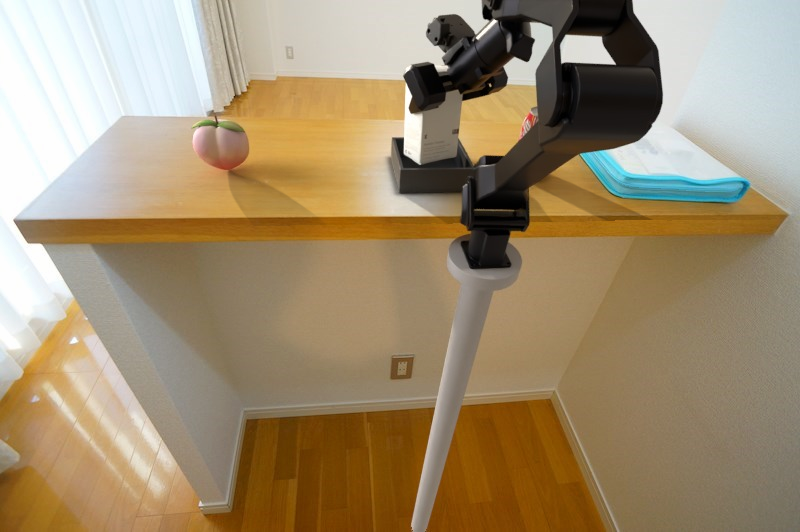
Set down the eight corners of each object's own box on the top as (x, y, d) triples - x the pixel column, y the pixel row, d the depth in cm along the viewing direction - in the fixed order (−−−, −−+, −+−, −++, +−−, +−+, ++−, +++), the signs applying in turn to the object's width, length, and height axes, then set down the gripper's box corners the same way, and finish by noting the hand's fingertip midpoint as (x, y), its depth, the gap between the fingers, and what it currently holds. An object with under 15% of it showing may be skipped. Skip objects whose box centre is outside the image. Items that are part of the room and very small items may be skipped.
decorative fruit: (259, 159, 79) (249, 106, 73) (250, 180, 73) (239, 125, 67) (208, 158, 79) (194, 105, 72) (195, 179, 72) (178, 123, 66)
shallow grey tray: (471, 191, 74) (475, 168, 71) (399, 193, 73) (400, 169, 70) (455, 158, 84) (458, 137, 81) (390, 158, 83) (391, 137, 80)
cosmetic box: (420, 166, 72) (424, 73, 63) (402, 154, 76) (403, 66, 67) (458, 157, 75) (467, 68, 66) (439, 146, 79) (445, 61, 70)
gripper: (509, -8, 62) (448, 56, 76) (417, -2, 53) (365, 70, 66) (538, 62, 63) (473, 112, 76) (452, 80, 53) (394, 134, 66)
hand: (429, 106), depth 71 cm, fingers closed on cosmetic box, 8 cm apart
